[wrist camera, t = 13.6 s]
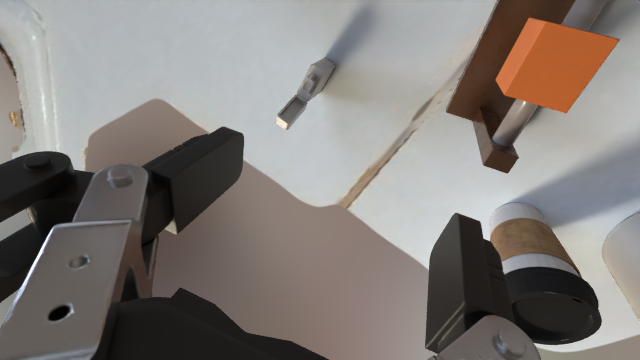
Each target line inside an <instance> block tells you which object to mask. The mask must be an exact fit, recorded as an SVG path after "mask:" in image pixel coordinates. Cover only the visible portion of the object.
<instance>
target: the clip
mask: <svg viewBox="0 0 640 360" xmlns="http://www.w3.org/2000/svg"><path fill="white" fill-rule="evenodd" d="M619 40H620V39H617V38H613V37H608V36H604V35H600V34H596V33H592V32H588V31H584V30H580V29H576V28H572V27H568V26H564V25H560V24H556V23H552V22H548V21H543V20H539V19H535V18H531V17H530V18H529V19H528V20H527V22H526V24H525V26H524V28H523V30H522V32H521V33H520V35H519V37H518V39H517V41H516V43H515V44H514V46H513V48H512V50H511V52H510V54H509V56H508V57H507V59H506V61H505V63H504V65H503V67H502V68H501V70H500V72H499V74H498V76H497V78H496V82H497V84H498V85H499V87H500V89H501V90H502V92H503V94H504V95H506V96H509V97H513V98H516V99H519V100H523V101H526V102H530V103H533V104H536V105H540V106H543V107H547V108H550V109H553V110H557V111H560V112H564V113H567V112H568V110H569V109H570V108H571V106H572V105H573V104H574V102H575V101H576V99H577V98H578V97H579V95H580V94H581V93H582V91H583V90H584V88H585V87H586V86H587V84H588V83H589V82H590V80H591V79H592V77H593V76H594V75H595V73H596V72H597V70H598V69H599V68H600V66H601V65H602V64H603V62H604V61H605V59H606V58H607V57H608V55H609V54H610V53H611V51H612V50H613V48H614V47H615V46H616V44H617V43H618V42H619Z"/></svg>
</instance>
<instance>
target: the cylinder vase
mask: <svg viewBox="0 0 640 360" xmlns="http://www.w3.org/2000/svg"><path fill="white" fill-rule="evenodd" d="M602 255H603V259H604V262H605V264H606V266H607V268H608V269H609V271H610V273H611V274H612V276H613V278H614V279H615V281H616V283H617V284H618V286H619V288H620V289H621V291H622V293H623V294H624V296H625V297H626V299H627V301H628V302H629V304H630V306H631V307H632V309H633V311H634V312H635V314H636V316H637V317H638V319H639V321H640V212H639V213H637V214H635V215H633V216H631V217H629V218H627V219H625V220H624V221H622V222H621V223H620V224H618V225H617V226H616V227H615V228H614V229H613V230H612V231H611V232H610V233H609V234H608V236H607V238H606V239H605V242H604V244H603V249H602Z"/></svg>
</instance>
